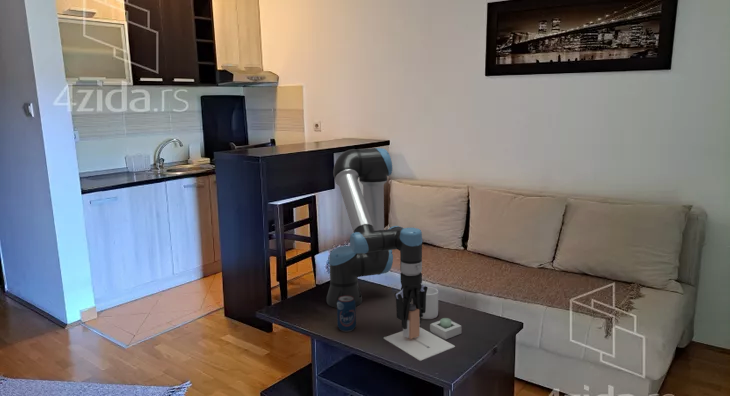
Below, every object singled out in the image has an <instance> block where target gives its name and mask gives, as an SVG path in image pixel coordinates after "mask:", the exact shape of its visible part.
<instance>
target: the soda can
mask: <svg viewBox="0 0 730 396" xmlns="http://www.w3.org/2000/svg"><path fill="white" fill-rule="evenodd" d="M356 307H357V306H355V300H354V298H353V297H352V296H349V295H344V296H340V297H339V298H338V301H337V308H336V316H337V328H338V329H339V330H340V331H342V332H351V331H353V330H354V329H355V327H356V326H357V319H356V318H357V315H356V314H357V313H356Z"/></svg>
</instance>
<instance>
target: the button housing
mask: <svg viewBox="0 0 730 396" xmlns="http://www.w3.org/2000/svg"><path fill="white" fill-rule="evenodd" d="M429 332H430V333H432V334H434V335H435V336H437V337H439V338H441V339H443V340H445V341H446V340H448V339H451V338H453V337H457V336H458V335H461V334H462V325H460V324H459V323H457V322H455V321H453V320H451V327H450V328H447V329H445V328H443V327H441V326H440V320H437V321H435V322H432V323H430V324H429Z"/></svg>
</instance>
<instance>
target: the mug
mask: <svg viewBox="0 0 730 396" xmlns="http://www.w3.org/2000/svg"><path fill="white" fill-rule="evenodd" d="M427 287H428V289H427V292H426V312H425V313H423V317H421V319H423V320H434V319H436V318H437V317H438V315H439V290H438V289H437V288H436V287H432V286H427Z"/></svg>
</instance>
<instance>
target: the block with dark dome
mask: <svg viewBox="0 0 730 396" xmlns="http://www.w3.org/2000/svg"><path fill="white" fill-rule="evenodd" d="M408 320H409V338H410V339H412V338H415V337H418V336H419V309H417V308H416V305H415V304H413V303H410V307H409V314H408Z"/></svg>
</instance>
